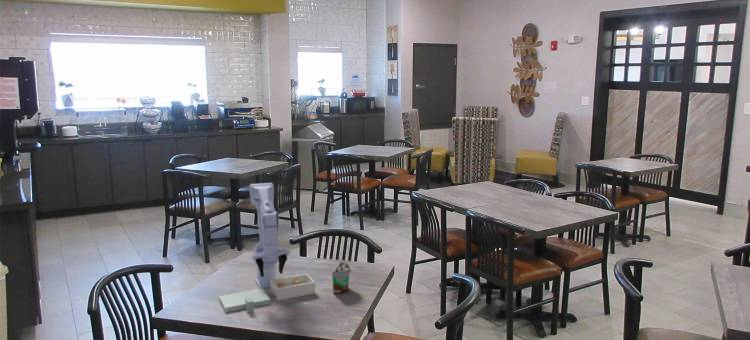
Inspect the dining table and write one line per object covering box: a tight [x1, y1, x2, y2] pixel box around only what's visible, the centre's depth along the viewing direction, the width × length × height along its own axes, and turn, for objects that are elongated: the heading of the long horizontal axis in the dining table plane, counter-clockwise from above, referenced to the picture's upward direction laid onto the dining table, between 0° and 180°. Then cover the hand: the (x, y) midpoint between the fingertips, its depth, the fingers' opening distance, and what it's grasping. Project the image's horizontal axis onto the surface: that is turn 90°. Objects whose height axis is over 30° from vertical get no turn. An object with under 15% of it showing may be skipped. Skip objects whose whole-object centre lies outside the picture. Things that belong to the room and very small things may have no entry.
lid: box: [218, 288, 271, 313], centre depth 211 cm, size 15×18×4 cm
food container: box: [331, 262, 352, 295], centre depth 224 cm, size 12×6×10 cm, turn 168°
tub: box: [269, 273, 316, 301], centre depth 222 cm, size 10×16×5 cm, turn 117°
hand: (271, 274), depth 215 cm, fingers open, 7 cm apart
